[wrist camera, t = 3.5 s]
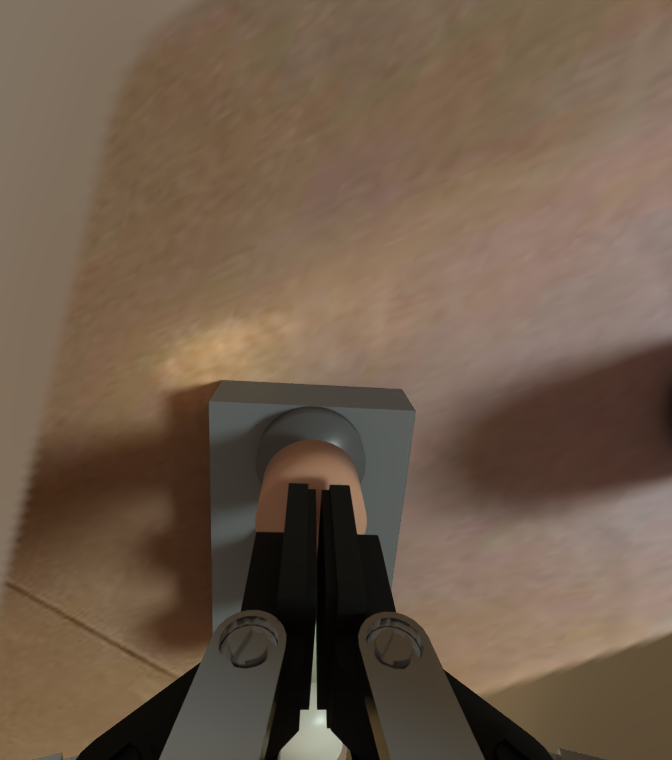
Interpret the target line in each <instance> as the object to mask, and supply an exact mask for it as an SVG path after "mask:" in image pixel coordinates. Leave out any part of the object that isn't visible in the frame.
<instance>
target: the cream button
mask: <svg viewBox="0 0 672 760" xmlns="http://www.w3.org/2000/svg"><path fill="white" fill-rule="evenodd" d="M341 749H342V742H341V741H340V740H339V739H338V737H337V736H336V735H335V734H334V733H333V732H332V731H331V728H327V721H326V710H317V682H314V683H311V692H310V706H309V710H300V725H299V731H298V732H297V733H296V734H295V735H294V736H293V738H292V739H291V740H290V741H289V742H288V743H287V744H286V745H285V746H284V747H283V748H282V749H281V755H280V760H337V758H338V757H339V755H340V753H341Z"/></svg>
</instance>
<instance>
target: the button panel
mask: <svg viewBox="0 0 672 760" xmlns="http://www.w3.org/2000/svg"><path fill="white" fill-rule="evenodd" d="M415 413H416V411H415V409H414V407H413V406H412V404H411V403H410V401H409V400H408V398H407V396H406V395H405V393H404V392H403V390H402V389H384V388H364V387H345V386H325V385H306V384H286V383H267V382H247V381H227V380H222V382H221V383H220V385H219V386H218V388H217V389H216V391H215V392H214V394H213V395H212V397H211V398H210V400H209V446H210V505H211V563H212V622H213V634H214V632H215V630H216V629H217V627H218V626H219V625H220V624H221V623H222V622H223V621H224V620H225V619H226V618H228V617H230V616H232V615H234V614H235V613H238V612H241V607H242V602H243V597H244V592H245V587H246V581H247V576H248V571H249V566H250V561H251V556H252V551H253V545H254V540H255V535H256V529H255V518H256V512H257V507H258V502H259V497H260V492H261V487H262V482H263V477H264V473H265V470H266V467H267V465H268V463H269V462H270V460H271V459H272V457H273V456H274V455H275V454H276V453H277V452H278V451H280V450H281V449H282V448H284V447H286V446H287V445H289V444H292V443H294V442H298V441H302V440H321V441H326V442H329V443H332V444H334V445H336V446H338V447H339V448H341V449H342V450H344V451H345V452H346V453H347V454H348V455H349V456H350V458H351V459H352V461H353V462H354V464H355V466H356V469H357V472H358V476H359V481H360V486H361V491H362V496H363V500H364V505H365V510H366V516H367V526H366V531H365V534H364V535H378V537H379V540H380V544H381V548H382V553H383V557H384V562H385V566H386V570H387V575H388V579H389V584H390V588H391V587H392V580H393V573H394V565H395V558H396V551H397V544H398V536H399V529H400V522H401V515H402V507H403V500H404V493H405V485H406V478H407V471H408V464H409V456H410V449H411V442H412V435H413V427H414V420H415Z"/></svg>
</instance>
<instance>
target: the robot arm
mask: <svg viewBox="0 0 672 760" xmlns="http://www.w3.org/2000/svg"><path fill="white" fill-rule="evenodd" d="M315 626H316V677H317V710H326V721H327V728H331V731H332V732H333V733H334V734H335V735H336V736H337V737H338V739H339V740H340V741H341V742H342V743H343V744H344V745H345V754H346V760H607V759H603V758H599V757H594V756H590V755H587V754H582V753H578V752H574V751H570V750H566V749H562V748H559V749H558V752H557V754H554V753H550V752H547V750H546V749H545V748H544V747H543V746H542V745H541V744H540V743H539V742H538V741H537V740H536V739H535V738H534V737H532V736H531V735H530V734H528V733H527V732H526V731H524V730H523V729H522V728H521V727H519V726H518V725H517V724H515V723H514V722H513V721H511V720H510V719H509V718H507V717H506V716H504V715H503V714H502V713H501V712H499V711H498V710H497V709H495V708H494V707H492V706H491V705H490V704H489V703H487V702H486V701H485V700H483V699H482V698H481V697H479V696H478V695H477V694H475V693H474V692H473V691H471V690H470V689H469V688H467V687H466V686H465V685H463V684H462V683H461V682H459V681H458V680H457V679H455V678H454V677H453V676H452V675H450V674H449V673H448V672H446V671H445V670H444V669H443V668H442V665H441V663H440V661H439V659H438V657H437V655H436V652H435V650H434V648H433V646H432V644H431V642H430V639H429V637H428V636H427V634H426V633H425V631H424V629H423V628H422V627H421V626H420V625H419V624H418V623H417V622H415V621H414V620H413V619H411V618H409V617H407V616H405V615H403V614H399V613H396V610H395V606H394V601H393V597H392V593H391V588H390V584H389V579H388V575H387V570H386V566H385V562H384V557H383V553H382V548H381V544H380V540H379V537H378V535H363V534H357V530H356V523H355V517H354V510H353V504H352V497H351V491H350V486H349V485H330V486H329V490H322V494H321V508H320V522H319V536H318V549H317V529H316V489H308V484H302V483H289V486H288V496H287V507H286V517H285V527H284V532H256V535H255V540H254V545H253V551H252V556H251V561H250V566H249V571H248V576H247V581H246V587H245V592H244V597H243V602H242V607H241V612H238V613H235V614H234V615H232V616H230V617H228V618H226V619H225V620H224V621H223V622H222V623H221V624H220V625H219V626H218V627H217V629H216V630H215V632H214V634H213V635H212V638H211V640H210V642H209V644H208V647H207V649H206V651H205V654H204V656H203V658H202V661H201V662H200V663H199V664H198V665H196V666H195V667H194V668H192V669H191V670H189V671H188V672H187V673H185V674H184V675H183V676H181V677H180V678H179V679H177V680H176V681H174V682H173V683H172V684H170V685H169V686H168V687H166V688H165V689H164V690H162V691H161V692H159V693H158V694H157V695H155V696H154V697H153V698H151V699H150V700H149V701H147V702H146V703H145V704H143V705H142V706H140V707H139V708H138V709H136V710H135V711H134V712H132V713H131V714H130V715H128V716H127V717H125V718H124V719H123V720H121V721H120V722H119V723H117V724H116V725H115V726H113V727H112V728H111V729H109V730H108V731H106V732H105V733H104V734H102V735H101V736H100V737H98V738H97V739H96V740H94V741H93V742H92V743H91V744H90V745H89V746H88V747H87V748H85V749H84V750H83V751H82V752H81V753H80V755H79V756H75V757H71V758H67V759H63V756H62V753H58V754H54V755H50V756H46V757H42V758H38V759H34V760H280V755H281V749H282V748H283V747H284V746H285V745H286V744H287V743H288V742H289V741H290V740H291V739H292V738H293V736H294V735H295V734H296V733H297V732H298V731H299V725H300V710H309V706H310V692H311V679H312V666H313V653H314V639H315Z"/></svg>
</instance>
